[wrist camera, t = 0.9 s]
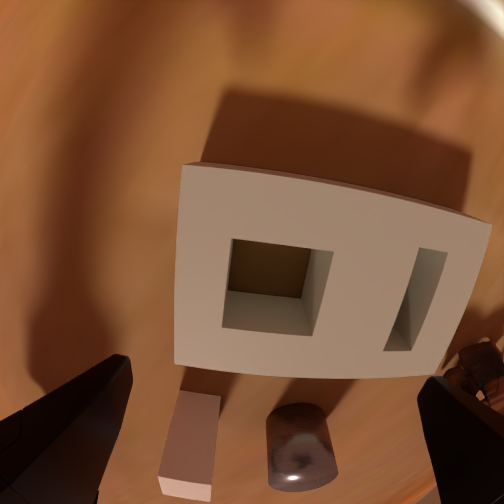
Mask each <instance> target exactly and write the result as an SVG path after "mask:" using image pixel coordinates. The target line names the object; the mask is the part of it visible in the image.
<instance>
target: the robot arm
mask: <svg viewBox="0 0 504 504" xmlns="http://www.w3.org/2000/svg"><path fill="white" fill-rule="evenodd" d="M132 384H133V375H132V368H131V361H130V358H129V357H128V356H124V355H120V354H114V355H112V356H110V357H109V358H107V359H105V360H104V361H102V362H100V363H99V364H97V365H95V366H94V367H92V368H90V369H89V370H87V371H85V372H84V373H82V374H80V375H79V376H77V377H75V378H74V379H72V380H70V381H69V382H67V383H65V384H64V385H62V386H60V387H59V388H57V389H55V390H53V391H52V392H50V393H48V394H47V395H45V396H43V397H42V398H40V399H38V400H36V401H35V402H33V403H31V404H30V405H28V406H26V407H24V408H23V411H22V410H19V411H17V412H16V413H14V414H12V415H10V416H8V417H7V418H5V419H3V420H1V421H0V504H97V499H98V494H99V490H98V488H99V485H100V483H101V480H102V477H103V474H104V472H105V469H106V466H107V463H108V461H109V458H110V455H111V453H112V450H113V448H114V445H115V442H116V440H117V437H118V435H119V432H120V429H121V426H122V422H123V418H124V414H125V410H126V406H127V403H128V399H129V395H130V392H131V388H132ZM417 402H418V407H419V412H420V416H421V421H422V426H423V432H424V437H425V441H426V445H427V448H428V452H429V455H430V459H431V463H432V466H433V470H434V474H435V478H436V483H437V487H438V491H439V496H440V500H441V504H504V416H503V415H502V414H500V413H499V412H497V411H495V410H494V409H492V408H491V407H489V406H487V405H486V404H484V403H483V402H481V401H479V400H478V399H476V398H475V397H473V396H472V395H470V394H468V393H467V392H465V391H464V390H462V389H460V388H459V387H457V386H456V385H454V384H452V383H451V382H449V381H448V380H446V379H445V378H443V377H441V376H431V377H429V378H428V379H427V380H426V382H425V384H424V385H423V387H422V389H421V391H420V392H419V394H418V397H417Z"/></svg>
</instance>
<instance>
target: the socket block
mask: <svg viewBox="0 0 504 504" xmlns="http://www.w3.org/2000/svg"><path fill="white" fill-rule="evenodd" d="M491 229H492V225H491V224H489V223H487V222H484V221H482V220H480V219H477V218H475V217H472V216H470V215H467V214H465V213H462V212H460V211H457V210H454V209H451V208H448V207H444V206H441V205H437V204H433V203H430V202H426V201H422V200H418V199H415V198H411V197H407V196H403V195H399V194H394V193H390V192H386V191H382V190H377V189H373V188H368V187H364V186H359V185H354V184H349V183H344V182H339V181H334V180H329V179H323V178H318V177H312V176H306V175H300V174H294V173H288V172H281V171H275V170H268V169H260V168H253V167H245V166H237V165H229V164H220V163H210V162H194V163H189V164H183V166H182V176H181V187H180V198H179V211H178V225H177V242H176V262H175V293H174V362H175V364H178V365H184V366H190V367H197V368H203V369H211V370H218V371H226V372H235V373H244V374H254V375H266V376H280V377H297V378H329V379H358V378H389V377H406V376H419V375H430V374H434V373H435V371H436V370H437V368H438V366H439V364H440V362H441V360H442V358H443V356H444V354H445V352H446V350H447V348H448V346H449V344H450V342H451V340H452V338H453V336H454V334H455V332H456V330H457V327H458V325H459V323H460V320H461V318H462V316H463V313H464V311H465V309H466V306H467V304H468V301H469V299H470V296H471V293H472V291H473V288H474V285H475V282H476V279H477V277H478V274H479V271H480V268H481V264H482V261H483V258H484V255H485V251H486V248H487V244H488V241H489V237H490V233H491ZM234 239H241V240H249V241H257V242H264V243H272V244H280V245H287V246H295V247H303V248H310V249H311V253H310V258H309V263H308V267H307V272H306V277H305V281H304V286H303V290H302V295H301V299H300V298H290V297H281V296H271V295H263V294H254V293H246V292H237V291H229V290H228V284H229V275H230V266H231V257H232V249H233V241H234Z"/></svg>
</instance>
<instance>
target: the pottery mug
mask: <svg viewBox="0 0 504 504" xmlns="http://www.w3.org/2000/svg"><path fill="white" fill-rule="evenodd" d="M459 357H460V359H461V360H462V365H463V368H464V369H462V368H450V369H448V370H447V371H446V372H445V374H444V375H443V378H445V379H446V380H448V381H449V382H451V383H452V384H454V385H456V386H457V387H459V388H460V389H462V390H464V391H465V392H467V393H468V394H470V395H472V396H473V397H475V398H476V399H478V398H477V397H476V394H477V393H478V391H479V390H481V391H482V393H483V395H484V396H485V398H484V399H483V400H481V402H483V403H484V404H486V405H487V406H489V407H491V408H492V409H494V410H495V411H497V412H499V413H500V414H502V415H503V416H504V363H503V354H502V353H501V352H500V351H499V349H498V348H497V347H496V344H495V342H493V341H488V342H481V343H477V344H475V345H472V346H470V347H468V348H466V349H464V350H462V351H460V352H459ZM478 400H479V399H478Z"/></svg>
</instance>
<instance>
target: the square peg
mask: <svg viewBox="0 0 504 504" xmlns="http://www.w3.org/2000/svg"><path fill="white" fill-rule="evenodd" d="M220 400H221V396H216V395H209V394H202V393H195V392H189V391H183V390H179V394H178V397H177V401H176V405H175V409H174V412H173V416H172V420H171V424H170V428H169V432H168V436H167V440H166V444H165V448H164V452H163V456H162V460H161V464H160V468H159V472H158V479H159V483H160V486H161V490H162V493H163V494H165V495H170V496H175V497H181V498H187V499H193V500H200V501H208V502H210V497H211V487H212V477H213V467H214V457H215V448H216V438H217V429H218V420H219V410H220Z"/></svg>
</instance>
